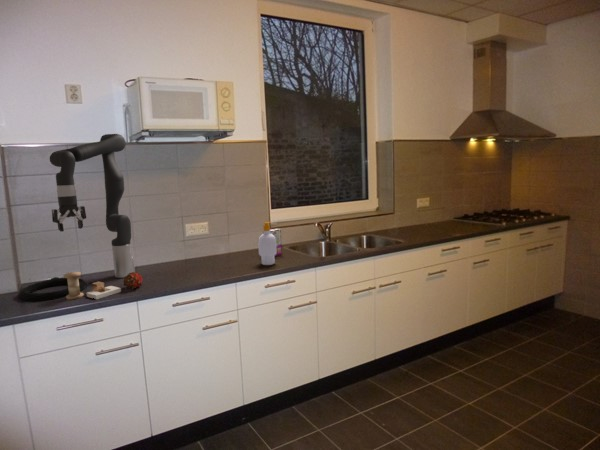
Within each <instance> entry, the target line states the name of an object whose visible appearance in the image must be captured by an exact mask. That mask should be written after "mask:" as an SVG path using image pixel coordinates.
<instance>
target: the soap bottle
mask: <svg viewBox="0 0 600 450" xmlns="http://www.w3.org/2000/svg"><path fill="white" fill-rule="evenodd" d="M271 222H272V221H267V222H265V221H264V223H263V224H264V225H262V226H263V231H264V234H263V233H262V234H261V235H260V236H259V237H258V241H257V244H258V255H259V256H260V257H261V259H260V260H261V264H262V265H263V266H271V265H275V263H276V261H275V260H276V259H275V257H276V256H274V255H276V254H277V249H276V238H275V236H274V235H273V234H270V230H271V228H270V227H271V226H270V224H271Z"/></svg>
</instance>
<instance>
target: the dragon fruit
mask: <svg viewBox="0 0 600 450" xmlns="http://www.w3.org/2000/svg"><path fill="white" fill-rule="evenodd" d="M143 280H144V279H143V276H142V275H141V274H140V273H138V272H136V271H135V272H132V273H129V274H128V275H127V276H125V277H123V286H124V287H127V288H128V289H132V290H135V289H136V288H140V287H142V282H143Z"/></svg>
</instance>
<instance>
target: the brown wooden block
mask: <svg viewBox="0 0 600 450" xmlns="http://www.w3.org/2000/svg"><path fill="white" fill-rule="evenodd" d="M91 287H92V289H91V290H92V291H97V292H101V293H102V292H105V282H102V281H96V282H92V283H91Z"/></svg>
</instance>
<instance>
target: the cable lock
mask: <svg viewBox="0 0 600 450" xmlns="http://www.w3.org/2000/svg"><path fill="white" fill-rule="evenodd" d="M78 279H79V288H80V292H82V291H83V290H84V289H85V288H86V285H87V283H86V281H85V280H84V279H82V278H79V277H78ZM65 285H66V286H68V281H67V278H64V277H59V276H58V277H57V276H55V277H52V278H50V279H47V280H43V281H40V282H39V281H38V282H35V283H32V284H29V285H27V286H26V287H23V288H22V289H21V290H20V291H19V292H18V293H19V294H18V295H19V298H21V300H25V301H26V302H27V301H31V302H41V301H51V300H54V299H62V298H66V296H67V295H69V289H68V287H67V288H64V289H61V290H55V291H48V292H36V291H38V290H42V289H46V288H52V287H55V286H57V287H58V286H65Z"/></svg>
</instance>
